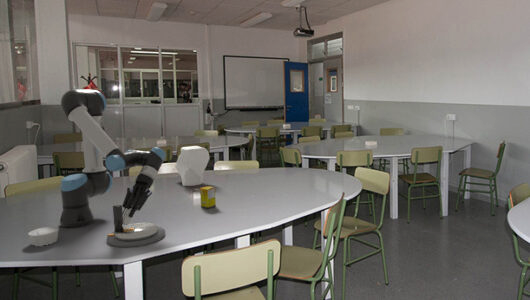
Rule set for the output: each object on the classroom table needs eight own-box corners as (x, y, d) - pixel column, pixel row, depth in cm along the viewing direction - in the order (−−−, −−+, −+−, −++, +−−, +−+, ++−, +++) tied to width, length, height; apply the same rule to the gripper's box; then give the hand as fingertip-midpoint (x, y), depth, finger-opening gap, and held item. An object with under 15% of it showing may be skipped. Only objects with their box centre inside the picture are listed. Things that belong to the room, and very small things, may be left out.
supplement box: (208, 204, 219) (207, 185, 217) (216, 206, 215) (215, 187, 214) (200, 207, 214) (199, 187, 213) (207, 209, 210) (207, 189, 209)
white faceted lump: (183, 187, 263) (181, 150, 259) (175, 180, 287) (173, 146, 284) (213, 184, 271) (211, 148, 268) (203, 177, 296) (201, 144, 292)
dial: (157, 225, 180) (156, 197, 178) (158, 238, 163) (156, 208, 161) (116, 229, 175) (114, 201, 173) (112, 243, 158) (110, 212, 156)
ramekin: (23, 246, 162) (21, 233, 161) (46, 237, 172) (45, 225, 171) (42, 249, 158) (41, 236, 157) (65, 239, 168) (64, 227, 167)
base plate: (96, 247, 158) (95, 242, 158) (122, 227, 182) (122, 223, 182) (153, 247, 156) (152, 243, 156) (172, 228, 180) (172, 224, 180)
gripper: (129, 172, 182) (105, 217, 170) (154, 173, 176) (130, 221, 164) (139, 180, 187) (116, 225, 175) (162, 182, 181) (140, 228, 169)
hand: (123, 223), depth 169 cm, fingers closed
